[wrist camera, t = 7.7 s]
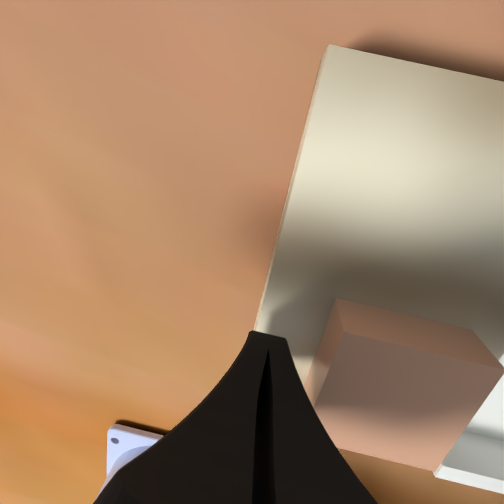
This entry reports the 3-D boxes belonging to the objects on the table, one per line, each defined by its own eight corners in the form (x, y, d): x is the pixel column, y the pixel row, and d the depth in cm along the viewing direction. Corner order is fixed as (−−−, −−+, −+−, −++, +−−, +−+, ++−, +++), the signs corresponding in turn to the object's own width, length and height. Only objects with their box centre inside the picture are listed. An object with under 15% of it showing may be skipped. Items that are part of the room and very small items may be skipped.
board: (414, 407, 16) (435, 454, 14) (244, 365, 16) (236, 405, 14) (583, 116, 11) (664, 115, 8) (321, 59, 11) (329, 44, 9)
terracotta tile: (415, 423, 13) (435, 471, 12) (300, 395, 14) (301, 438, 12) (471, 329, 11) (506, 369, 10) (335, 297, 11) (344, 331, 10)
